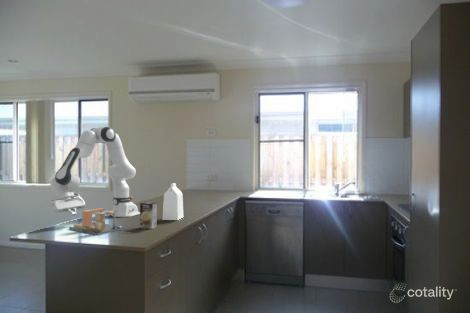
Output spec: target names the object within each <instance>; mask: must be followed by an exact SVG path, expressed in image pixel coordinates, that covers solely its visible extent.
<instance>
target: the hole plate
mask: <svg viewBox="0 0 470 313" xmlns="http://www.w3.org/2000/svg"><path fill="white" fill-rule="evenodd" d="M92 227H95V220H94V221H93V222H92ZM68 230H71V231H76V232H80V233H84V234H89V235H95V236H101V235H104V234H109V233H115V232H119V231H123V230H126V227H125V226H122V225H115V228H113V224H109V223H105V229H104V232H97V231H92V230H87V229H82V228H77V227H74V226H70V227H68Z"/></svg>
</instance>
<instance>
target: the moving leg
mask: <svg viewBox="0 0 470 313" xmlns="http://www.w3.org/2000/svg"><path fill="white" fill-rule="evenodd" d="M81 211H82V212H81V215H82V217H81V218H82V219H81V220H82V221H81V224H82V226H85V227H87V226H92V223H93V213H103V211H104V208H100V207H99V208H96V209H95V208H94V209H86V210H81ZM104 212H105V211H104Z"/></svg>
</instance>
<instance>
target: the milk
mask: <svg viewBox="0 0 470 313" xmlns="http://www.w3.org/2000/svg"><path fill="white" fill-rule="evenodd" d="M183 197H184V194H183V192H182V191H181V190H180V189H179V188H178V187H177V183H176V182H175V183H174V182H173V183H171V184H170V187H169V188H168V189H167V191H165V192H164V194H163V205H162V206H163V207H162V221H163V220H179V219H181V218H183V217H185V216H184V198H183ZM183 219H184V218H183ZM181 220H182V219H181ZM179 221H180V220H179Z"/></svg>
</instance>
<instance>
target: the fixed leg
mask: <svg viewBox="0 0 470 313" xmlns="http://www.w3.org/2000/svg"><path fill="white" fill-rule="evenodd" d="M94 213H95V214H94V221H95V227H92V226H87V227H85V226H82V223H75V224H73V227H77V228H82V229H87V230H92V231H97V232H104V229H105V224H106V216H108V215H112V214H113V216H112V219H113V220H112V225H113V228H115V226H116V217H115V213H116V211H113V210H111V211H110V210H109V211H104V212H103V211H102V213H100V212H94Z"/></svg>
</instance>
